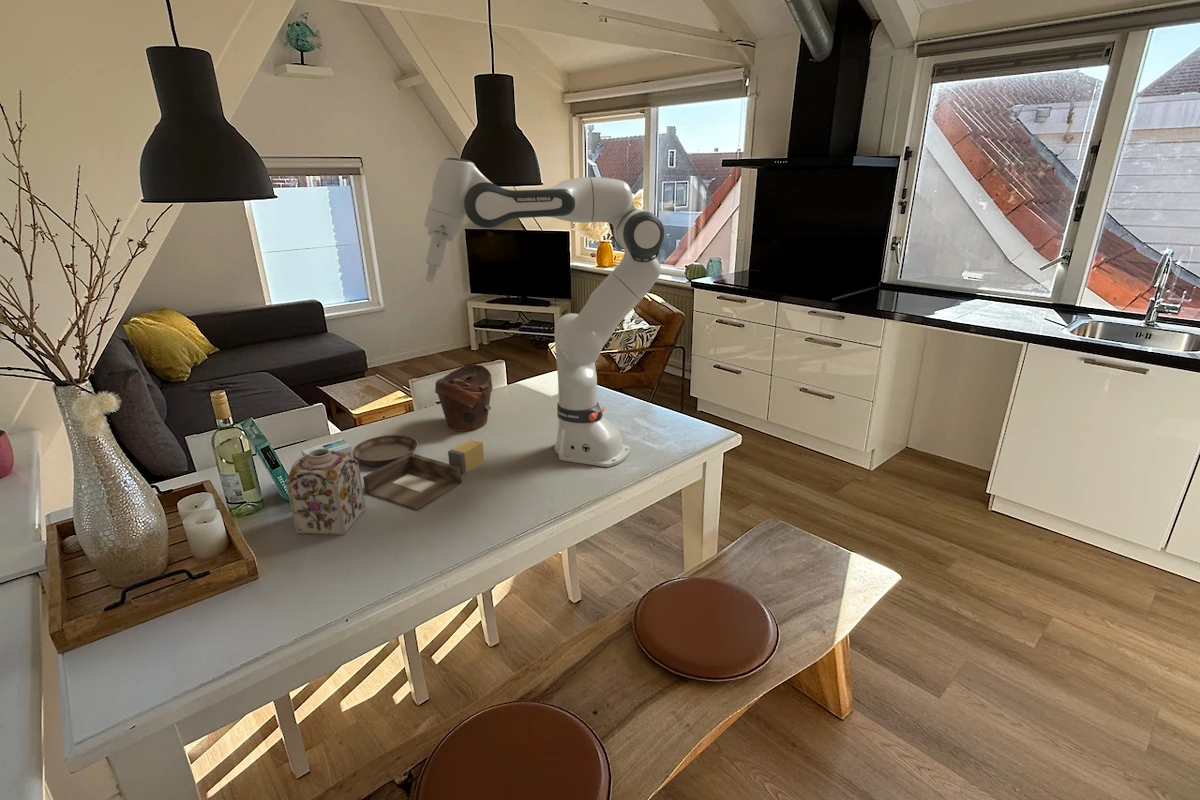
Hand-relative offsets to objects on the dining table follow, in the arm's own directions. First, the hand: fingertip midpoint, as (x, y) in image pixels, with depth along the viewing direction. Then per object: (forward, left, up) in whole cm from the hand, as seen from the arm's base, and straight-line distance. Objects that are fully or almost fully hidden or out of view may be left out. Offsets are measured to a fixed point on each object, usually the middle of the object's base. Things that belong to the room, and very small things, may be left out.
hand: (430, 278), depth 153 cm
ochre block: (-8, +1, -51) cm, 52 cm away
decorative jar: (+1, +38, -52) cm, 64 cm away
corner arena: (-4, +17, -51) cm, 54 cm away
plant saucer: (+17, +7, -52) cm, 55 cm away
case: (+12, -22, -52) cm, 57 cm away
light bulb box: (+16, +26, -52) cm, 60 cm away
